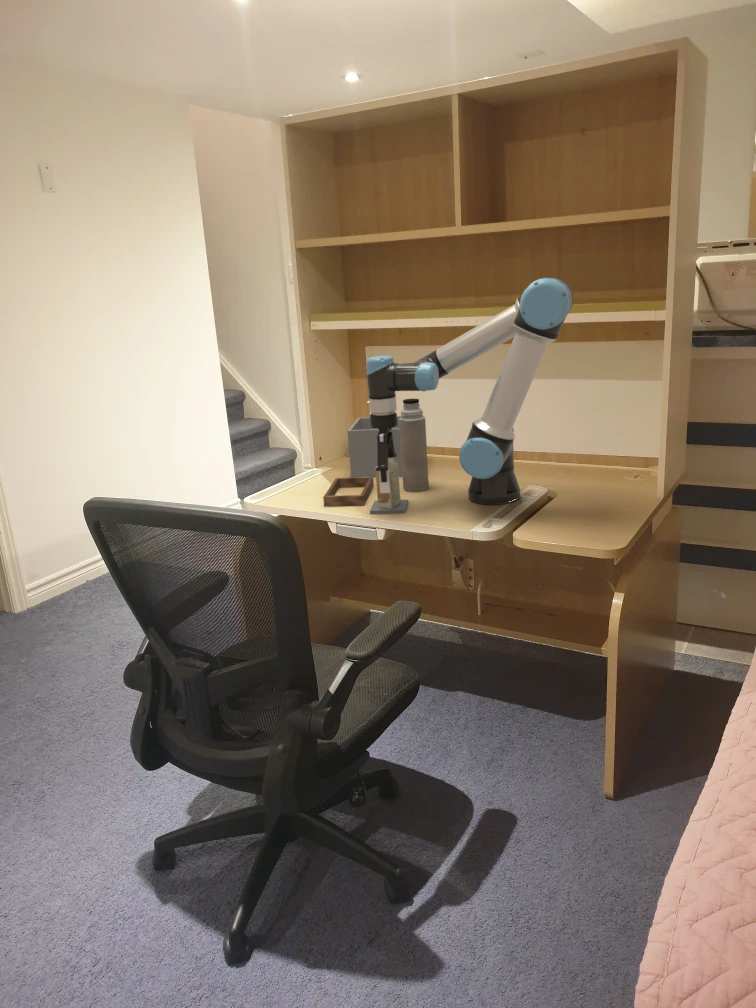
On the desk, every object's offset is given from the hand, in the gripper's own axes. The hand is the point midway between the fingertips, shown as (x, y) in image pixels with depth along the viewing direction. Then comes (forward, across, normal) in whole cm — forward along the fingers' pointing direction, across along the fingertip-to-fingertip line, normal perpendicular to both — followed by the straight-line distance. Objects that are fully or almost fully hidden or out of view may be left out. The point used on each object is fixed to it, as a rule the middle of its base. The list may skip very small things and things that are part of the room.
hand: (388, 486), depth 222 cm
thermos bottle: (+7, -20, +6) cm, 22 cm away
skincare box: (+6, 0, 0) cm, 6 cm away
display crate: (+7, -46, -6) cm, 47 cm away
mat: (+7, 0, 0) cm, 7 cm away
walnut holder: (+7, -14, -14) cm, 21 cm away
